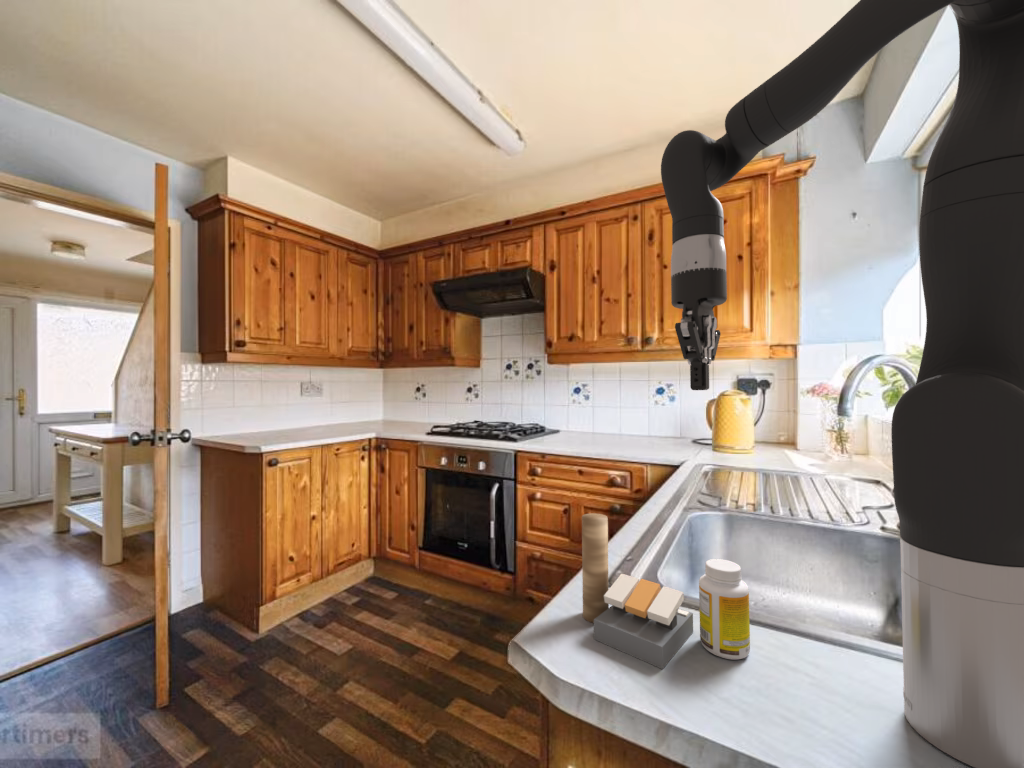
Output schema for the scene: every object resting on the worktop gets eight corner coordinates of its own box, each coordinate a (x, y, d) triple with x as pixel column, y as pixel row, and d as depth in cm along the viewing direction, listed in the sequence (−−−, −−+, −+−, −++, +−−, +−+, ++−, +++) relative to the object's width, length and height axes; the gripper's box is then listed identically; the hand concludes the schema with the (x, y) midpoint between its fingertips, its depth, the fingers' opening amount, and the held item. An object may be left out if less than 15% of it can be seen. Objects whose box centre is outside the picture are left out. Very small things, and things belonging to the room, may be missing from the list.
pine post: (613, 616, 60) (612, 516, 61) (600, 626, 58) (599, 522, 58) (591, 607, 63) (590, 512, 63) (577, 617, 60) (577, 517, 61)
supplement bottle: (757, 649, 52) (756, 565, 53) (738, 668, 49) (736, 578, 49) (712, 630, 57) (711, 552, 57) (691, 646, 53) (690, 563, 53)
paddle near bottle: (684, 602, 55) (683, 592, 54) (669, 628, 51) (668, 618, 51) (664, 595, 56) (663, 586, 56) (648, 621, 53) (647, 611, 52)
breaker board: (693, 632, 56) (692, 602, 56) (662, 669, 49) (662, 634, 49) (629, 609, 62) (629, 582, 62) (593, 639, 55) (593, 608, 55)
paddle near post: (640, 588, 59) (639, 578, 58) (623, 612, 55) (621, 602, 55) (623, 582, 60) (621, 573, 60) (605, 605, 57) (603, 595, 56)
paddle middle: (661, 593, 57) (659, 584, 56) (645, 621, 53) (643, 611, 53) (642, 587, 58) (641, 578, 58) (626, 614, 55) (624, 604, 54)
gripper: (710, 257, 56) (712, 389, 55) (737, 277, 66) (740, 390, 65) (654, 268, 61) (656, 390, 60) (688, 285, 71) (689, 390, 70)
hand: (699, 390), depth 63 cm, fingers closed
